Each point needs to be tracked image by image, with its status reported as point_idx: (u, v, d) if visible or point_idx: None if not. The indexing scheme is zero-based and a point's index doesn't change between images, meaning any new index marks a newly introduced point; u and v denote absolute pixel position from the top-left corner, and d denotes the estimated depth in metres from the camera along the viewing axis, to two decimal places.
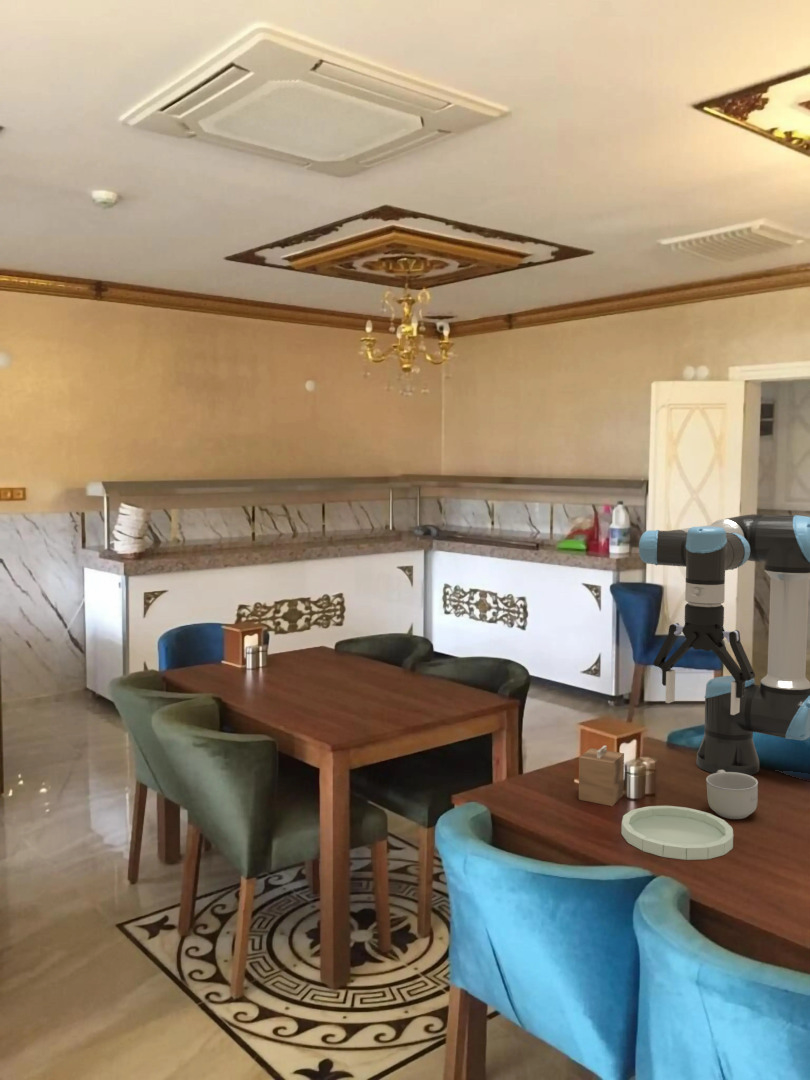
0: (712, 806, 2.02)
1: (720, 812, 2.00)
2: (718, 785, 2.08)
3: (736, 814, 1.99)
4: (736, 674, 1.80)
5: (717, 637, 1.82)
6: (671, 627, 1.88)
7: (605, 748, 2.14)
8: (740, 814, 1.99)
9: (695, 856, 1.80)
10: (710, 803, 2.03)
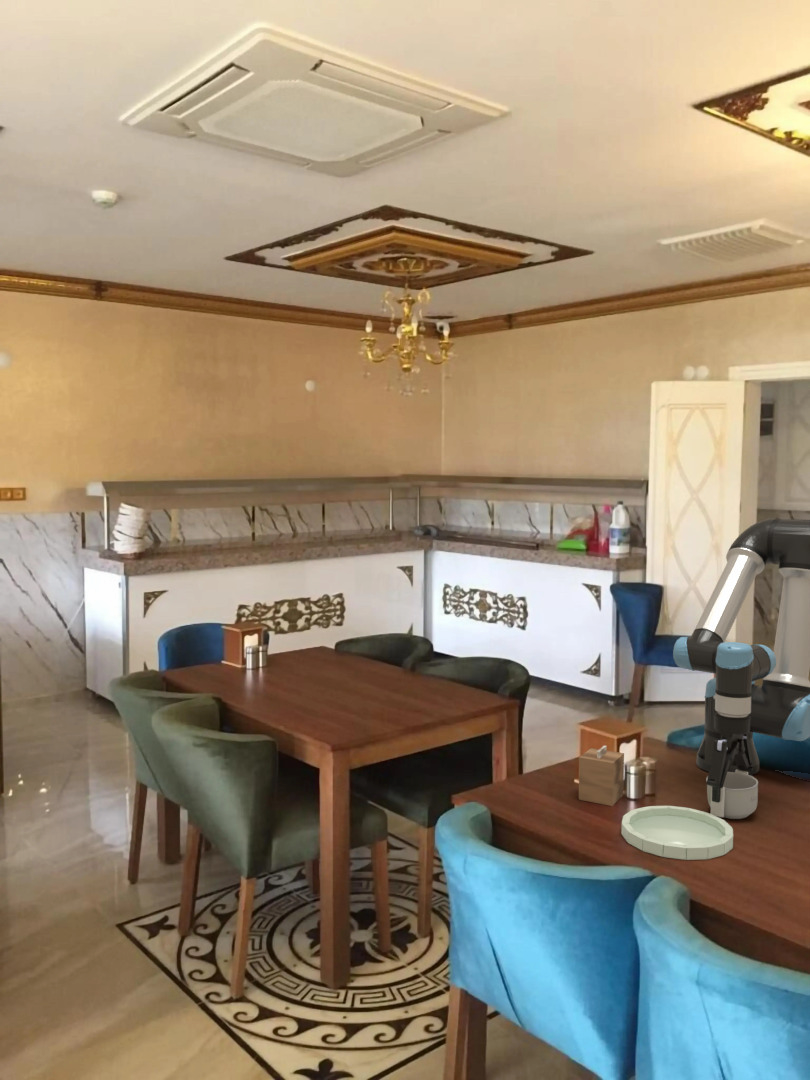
0: None
1: None
2: None
3: (736, 814, 1.99)
4: None
5: None
6: None
7: (605, 748, 2.14)
8: (740, 814, 1.99)
9: (695, 856, 1.80)
10: (710, 803, 2.03)
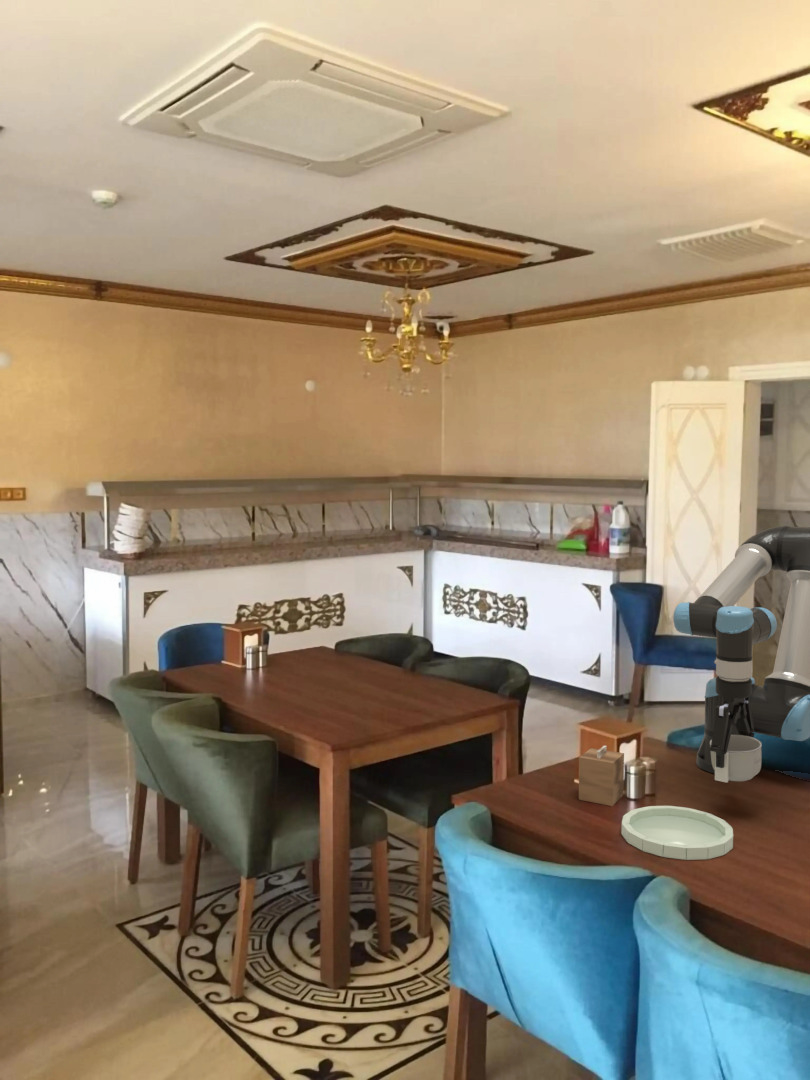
0: None
1: None
2: None
3: (740, 776, 1.99)
4: None
5: None
6: None
7: (605, 748, 2.14)
8: (744, 776, 1.99)
9: (695, 856, 1.80)
10: (714, 766, 2.03)
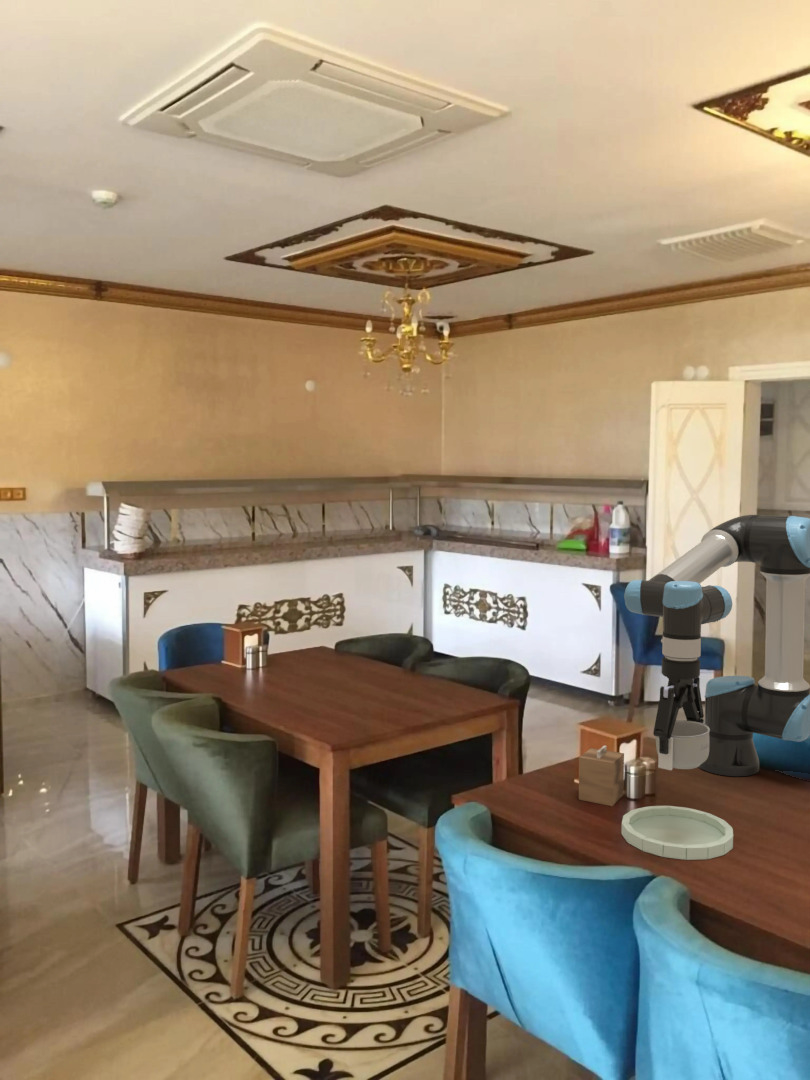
0: None
1: None
2: None
3: (686, 763, 1.84)
4: None
5: None
6: None
7: (605, 748, 2.14)
8: (690, 763, 1.84)
9: (695, 856, 1.80)
10: None
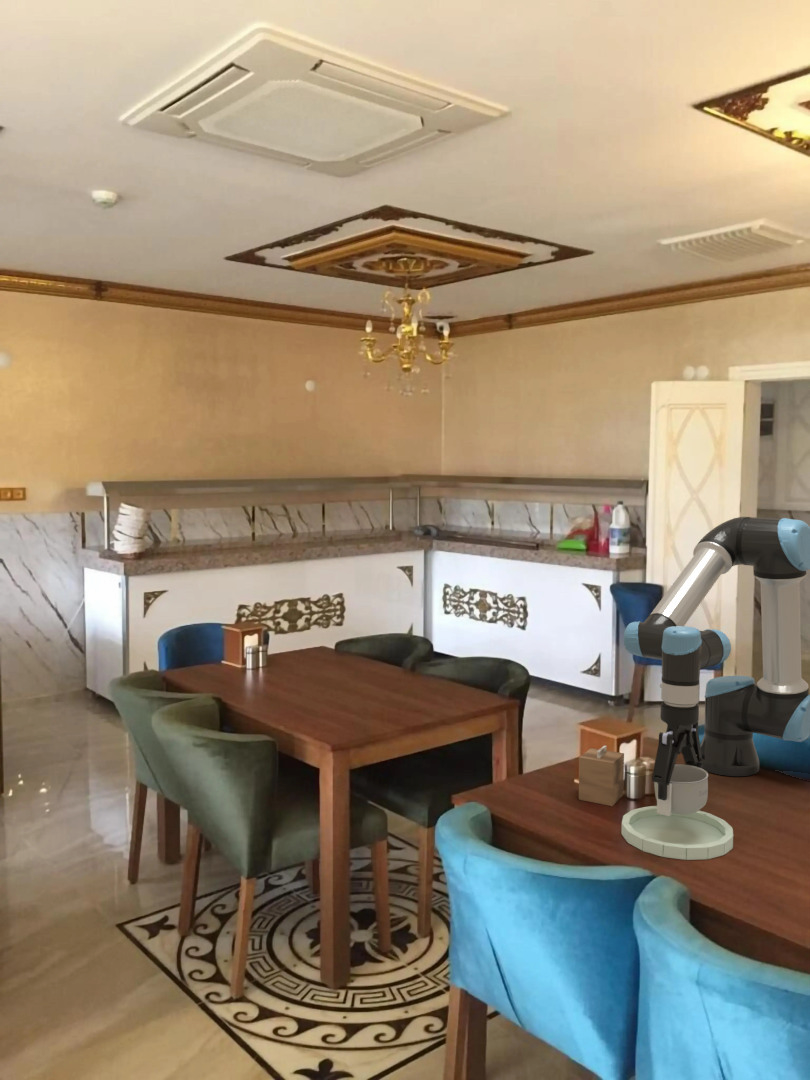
0: None
1: None
2: None
3: (684, 809, 1.85)
4: None
5: None
6: None
7: (605, 748, 2.14)
8: (688, 809, 1.85)
9: (695, 856, 1.80)
10: None
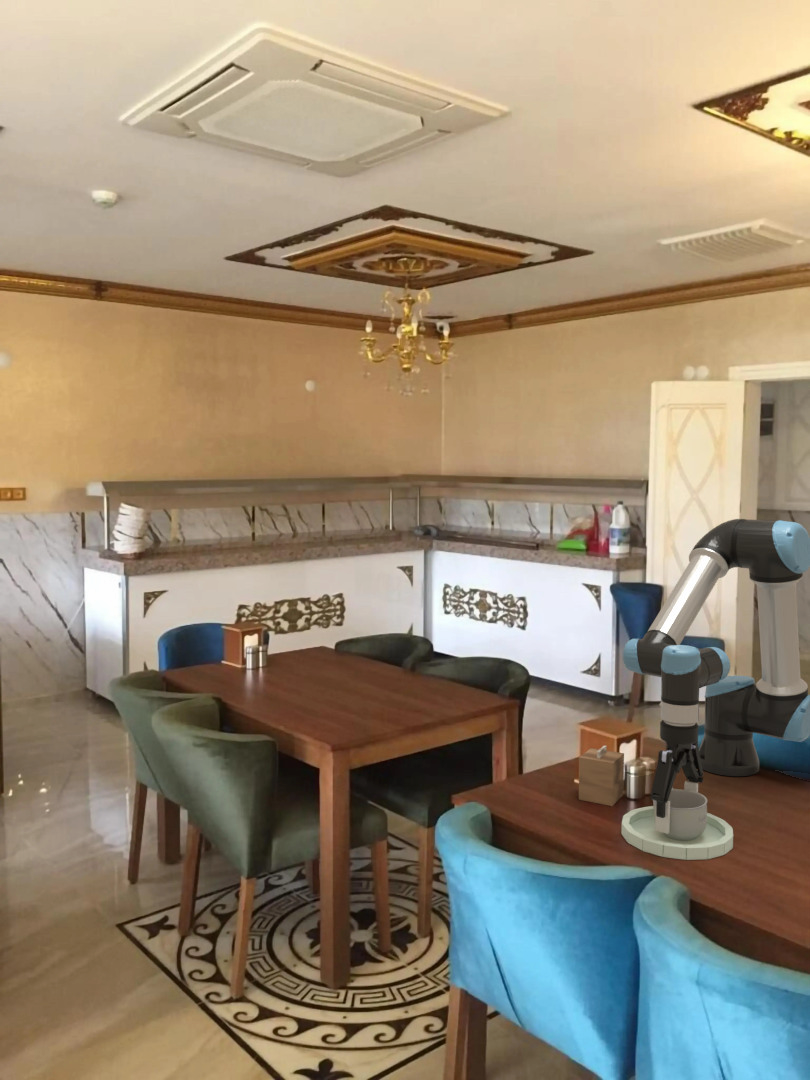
0: None
1: None
2: None
3: (683, 835, 1.85)
4: None
5: None
6: None
7: (605, 748, 2.14)
8: (688, 835, 1.85)
9: (695, 856, 1.80)
10: None
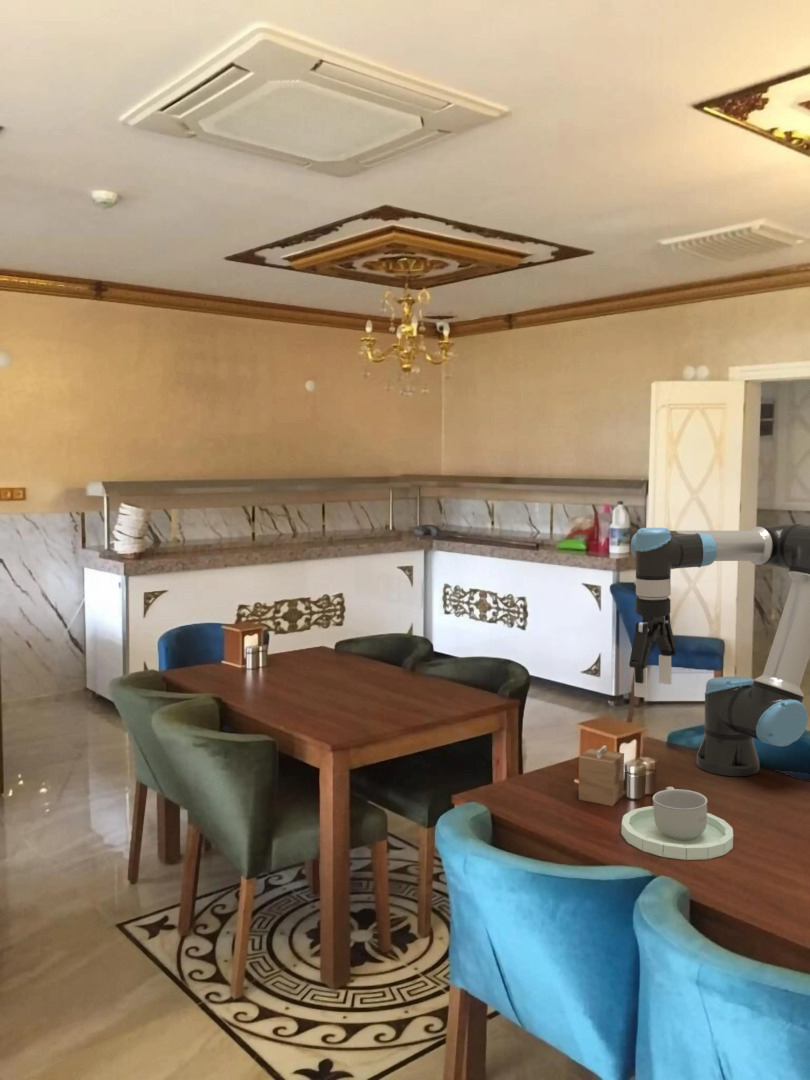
0: (658, 826, 1.89)
1: (667, 833, 1.87)
2: (666, 803, 1.94)
3: (683, 835, 1.85)
4: None
5: None
6: None
7: (605, 748, 2.14)
8: (688, 835, 1.85)
9: (695, 856, 1.80)
10: (656, 823, 1.89)
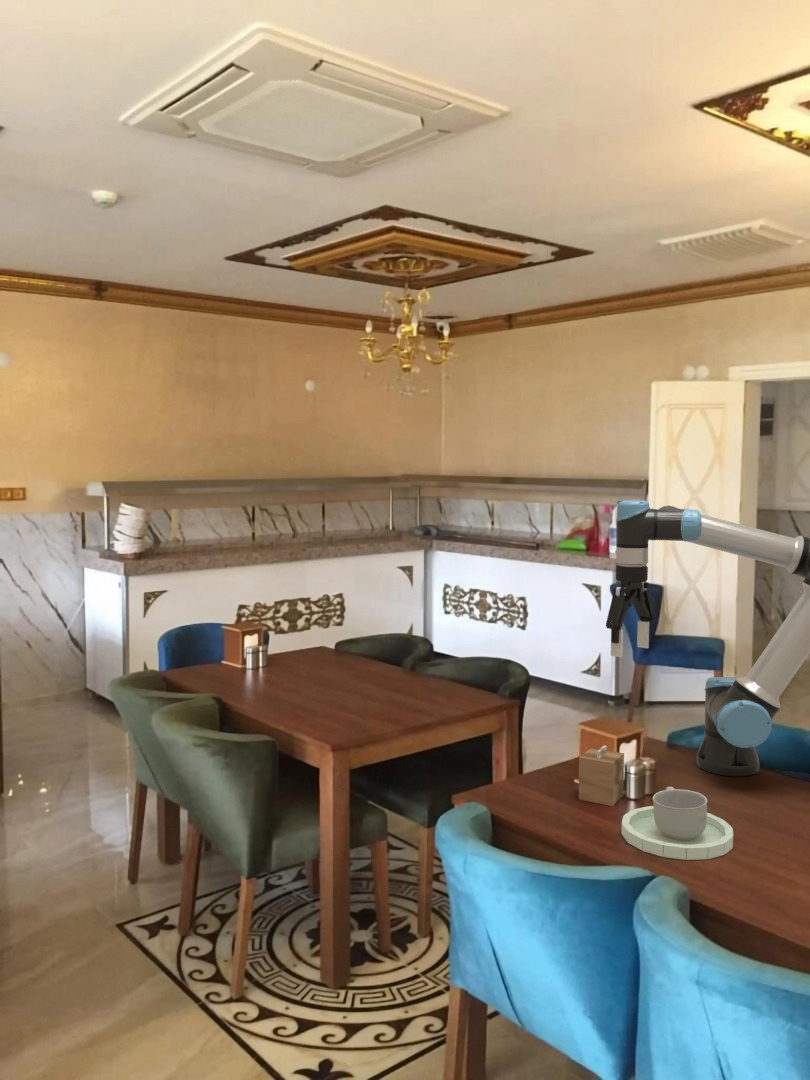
0: (658, 826, 1.89)
1: (667, 833, 1.87)
2: (666, 803, 1.94)
3: (683, 835, 1.85)
4: None
5: None
6: None
7: (605, 748, 2.14)
8: (688, 835, 1.85)
9: (695, 856, 1.80)
10: (656, 823, 1.89)
